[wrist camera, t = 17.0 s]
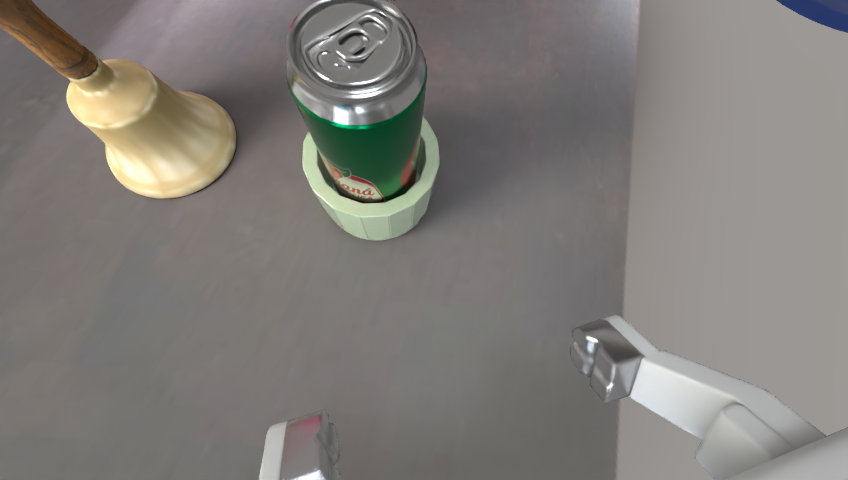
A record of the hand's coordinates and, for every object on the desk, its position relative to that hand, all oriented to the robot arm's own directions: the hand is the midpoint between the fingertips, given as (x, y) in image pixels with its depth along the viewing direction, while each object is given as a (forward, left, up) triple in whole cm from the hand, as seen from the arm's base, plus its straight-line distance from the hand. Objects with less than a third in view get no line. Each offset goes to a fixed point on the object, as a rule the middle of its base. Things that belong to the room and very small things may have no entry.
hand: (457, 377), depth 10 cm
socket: (+3, -11, -10) cm, 16 cm away
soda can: (+3, -11, -10) cm, 15 cm away
